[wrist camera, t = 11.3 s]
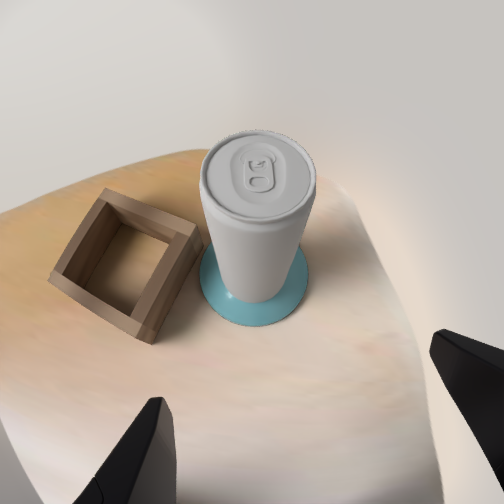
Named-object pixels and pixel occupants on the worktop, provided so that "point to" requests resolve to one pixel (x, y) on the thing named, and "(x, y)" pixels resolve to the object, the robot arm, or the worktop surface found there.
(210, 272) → the teal disc
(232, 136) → the beverage can
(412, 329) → the worktop surface
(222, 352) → the worktop surface
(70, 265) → the square wooden frame
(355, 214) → the worktop surface
